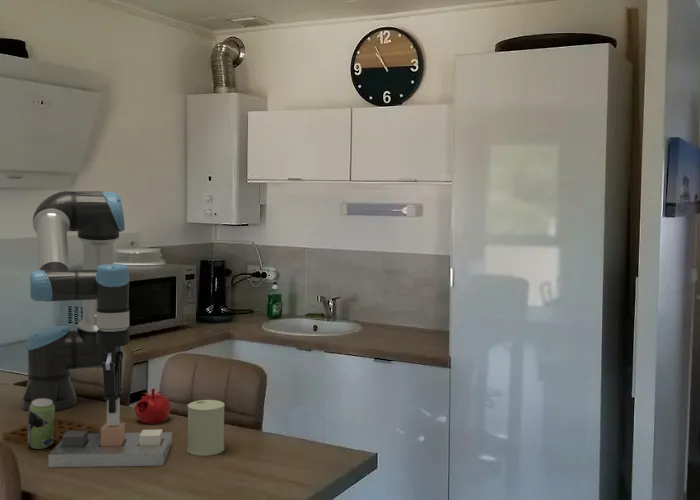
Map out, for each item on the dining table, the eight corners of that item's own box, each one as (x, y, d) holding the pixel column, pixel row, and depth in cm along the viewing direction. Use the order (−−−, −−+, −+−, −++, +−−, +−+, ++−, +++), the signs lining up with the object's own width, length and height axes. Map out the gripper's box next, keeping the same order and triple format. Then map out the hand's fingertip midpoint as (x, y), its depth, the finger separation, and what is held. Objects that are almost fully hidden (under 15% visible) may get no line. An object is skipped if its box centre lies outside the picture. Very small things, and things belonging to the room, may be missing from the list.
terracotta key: (105, 442, 188) (105, 422, 188) (125, 442, 189) (125, 422, 188) (101, 449, 183) (100, 428, 183) (121, 448, 184) (121, 428, 183)
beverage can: (45, 440, 196) (45, 394, 195) (60, 447, 191) (60, 400, 190) (21, 446, 191) (21, 399, 190) (36, 453, 186) (36, 405, 186)
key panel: (67, 445, 193) (67, 433, 192) (171, 443, 195) (171, 432, 195) (48, 467, 177) (48, 454, 177) (163, 465, 179) (163, 453, 179)
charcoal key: (67, 450, 187) (67, 430, 187) (87, 450, 188) (87, 430, 187) (62, 457, 182) (62, 436, 182) (83, 457, 183) (82, 436, 183)
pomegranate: (169, 415, 222) (169, 383, 221) (172, 424, 212) (173, 391, 212) (133, 417, 218) (134, 384, 218) (135, 426, 209) (135, 393, 209)
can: (210, 441, 198) (211, 395, 197) (231, 450, 191) (232, 403, 190) (179, 449, 191) (180, 402, 190) (200, 458, 185) (200, 409, 184)
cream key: (142, 449, 189) (142, 429, 189) (162, 449, 190) (162, 429, 189) (139, 456, 184) (139, 435, 184) (159, 455, 185) (159, 435, 184)
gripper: (102, 324, 190) (103, 417, 192) (90, 333, 177) (91, 433, 179) (133, 324, 191) (133, 417, 192) (123, 333, 178) (123, 432, 179)
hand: (113, 424), depth 185 cm, fingers closed
